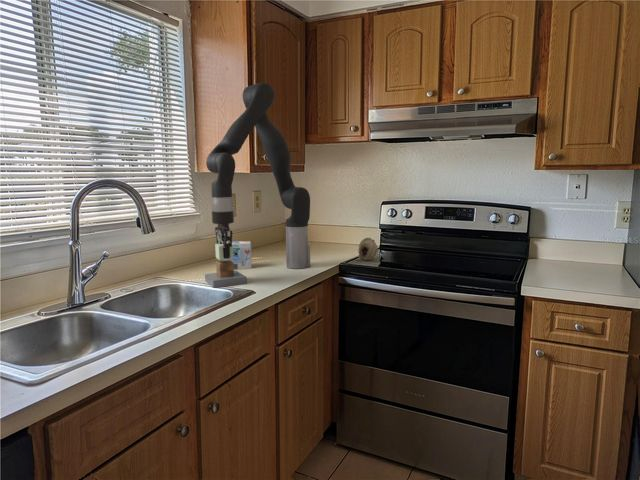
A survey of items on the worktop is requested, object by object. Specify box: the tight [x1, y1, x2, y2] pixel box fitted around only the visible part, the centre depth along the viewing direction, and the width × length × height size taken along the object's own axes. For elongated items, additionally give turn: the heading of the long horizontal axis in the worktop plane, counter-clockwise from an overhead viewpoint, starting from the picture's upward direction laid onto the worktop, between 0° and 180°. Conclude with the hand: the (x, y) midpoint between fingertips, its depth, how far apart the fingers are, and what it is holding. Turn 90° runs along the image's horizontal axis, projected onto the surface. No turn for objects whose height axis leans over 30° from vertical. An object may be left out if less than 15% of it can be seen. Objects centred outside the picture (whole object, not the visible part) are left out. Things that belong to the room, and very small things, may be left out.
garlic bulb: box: [357, 237, 378, 261], centre depth 203 cm, size 10×8×10 cm
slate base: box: [204, 270, 248, 289], centre depth 164 cm, size 12×12×2 cm
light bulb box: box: [226, 240, 253, 270], centre depth 188 cm, size 11×7×11 cm, turn 105°
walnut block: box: [215, 260, 235, 278], centre depth 163 cm, size 5×5×5 cm
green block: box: [214, 243, 233, 261], centre depth 162 cm, size 5×5×5 cm
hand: (224, 256), depth 163 cm, fingers closed on green block, 4 cm apart
